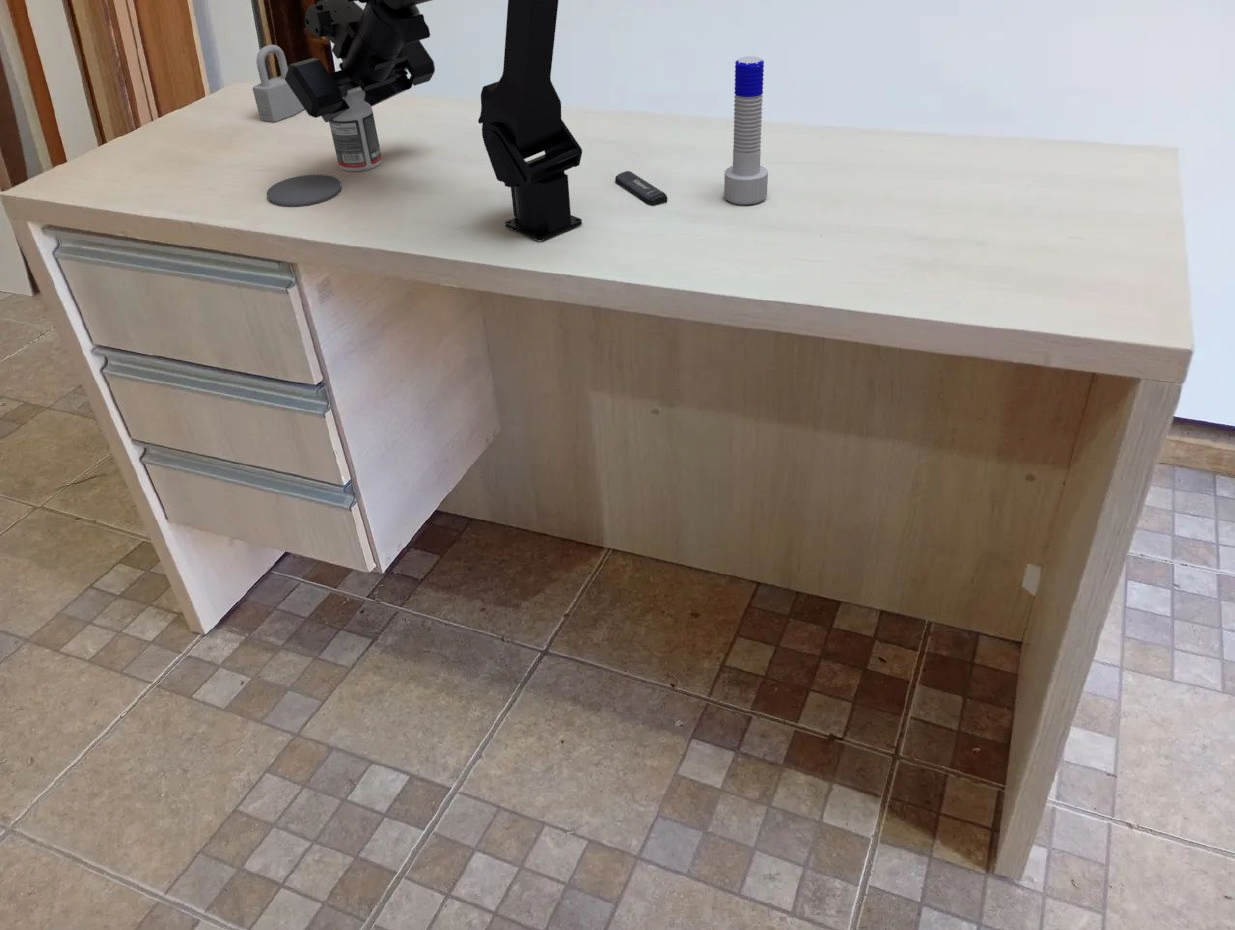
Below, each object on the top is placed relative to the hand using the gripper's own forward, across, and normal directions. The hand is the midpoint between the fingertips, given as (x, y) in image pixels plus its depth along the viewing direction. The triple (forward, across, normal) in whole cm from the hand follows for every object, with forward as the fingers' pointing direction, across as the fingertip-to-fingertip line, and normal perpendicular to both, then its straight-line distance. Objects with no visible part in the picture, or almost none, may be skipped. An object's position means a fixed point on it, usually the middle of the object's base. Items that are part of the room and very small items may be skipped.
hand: (344, 112), depth 132 cm
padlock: (+23, -6, -14) cm, 28 cm away
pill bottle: (+4, 0, +6) cm, 7 cm away
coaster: (+2, +10, +7) cm, 13 cm away
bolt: (-30, -20, +40) cm, 54 cm away
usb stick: (-22, -14, +32) cm, 41 cm away
